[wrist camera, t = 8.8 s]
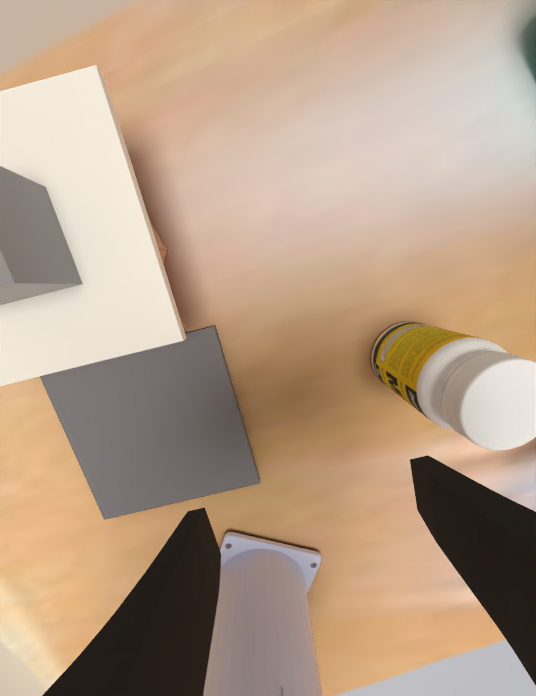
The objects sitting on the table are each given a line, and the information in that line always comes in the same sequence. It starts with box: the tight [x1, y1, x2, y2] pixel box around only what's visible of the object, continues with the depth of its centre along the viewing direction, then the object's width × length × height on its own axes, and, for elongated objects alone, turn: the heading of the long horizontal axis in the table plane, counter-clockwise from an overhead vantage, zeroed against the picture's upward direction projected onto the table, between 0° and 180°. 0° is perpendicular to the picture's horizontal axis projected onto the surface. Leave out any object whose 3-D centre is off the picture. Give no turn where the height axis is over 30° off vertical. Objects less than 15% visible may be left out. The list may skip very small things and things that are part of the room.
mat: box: [40, 326, 260, 520], centre depth 20 cm, size 12×12×1 cm
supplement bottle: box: [371, 322, 536, 450], centre depth 15 cm, size 5×5×8 cm
